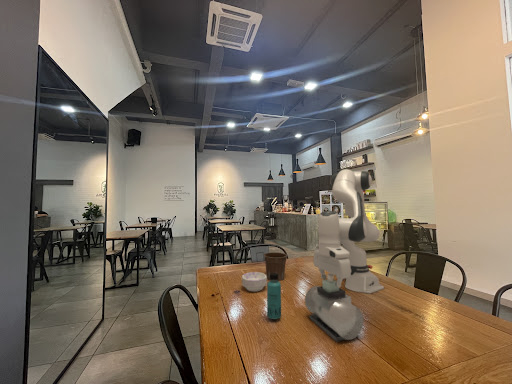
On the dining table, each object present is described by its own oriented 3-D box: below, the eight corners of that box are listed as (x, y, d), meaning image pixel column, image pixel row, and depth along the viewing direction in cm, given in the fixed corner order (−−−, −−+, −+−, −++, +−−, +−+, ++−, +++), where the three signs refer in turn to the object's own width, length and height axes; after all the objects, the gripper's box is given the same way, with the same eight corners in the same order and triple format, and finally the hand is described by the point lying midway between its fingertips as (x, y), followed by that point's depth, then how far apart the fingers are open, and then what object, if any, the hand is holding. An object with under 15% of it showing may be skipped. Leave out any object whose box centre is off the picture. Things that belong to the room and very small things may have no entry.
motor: (322, 308, 108) (321, 276, 109) (364, 338, 84) (362, 296, 84) (300, 312, 104) (300, 279, 105) (337, 345, 80) (336, 301, 81)
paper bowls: (253, 296, 124) (252, 281, 124) (237, 288, 135) (236, 275, 136) (272, 289, 134) (271, 275, 134) (255, 282, 145) (255, 270, 146)
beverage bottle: (266, 315, 102) (265, 271, 103) (280, 315, 102) (279, 271, 103) (268, 323, 95) (267, 276, 96) (283, 322, 96) (282, 275, 97)
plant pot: (291, 276, 156) (290, 253, 157) (281, 283, 142) (280, 258, 143) (271, 273, 165) (270, 251, 165) (259, 279, 151) (259, 255, 152)
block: (332, 290, 96) (331, 272, 96) (339, 294, 91) (338, 275, 92) (322, 292, 94) (322, 273, 95) (329, 296, 90) (328, 276, 90)
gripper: (309, 245, 103) (310, 276, 102) (339, 255, 83) (340, 292, 83) (321, 244, 105) (322, 274, 104) (353, 253, 85) (354, 290, 85)
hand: (330, 282), depth 93 cm, fingers open, 8 cm apart
